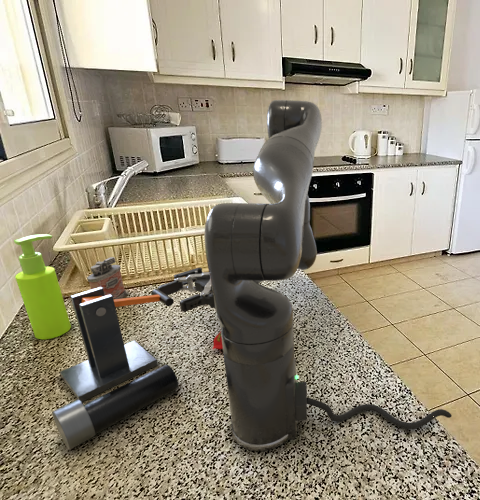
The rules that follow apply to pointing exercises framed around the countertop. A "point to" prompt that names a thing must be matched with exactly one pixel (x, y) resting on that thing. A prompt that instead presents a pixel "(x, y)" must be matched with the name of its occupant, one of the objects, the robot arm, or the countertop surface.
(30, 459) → the countertop surface
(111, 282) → the lighter
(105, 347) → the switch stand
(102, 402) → the flashlight
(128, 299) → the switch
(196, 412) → the countertop surface
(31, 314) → the soap dispenser
